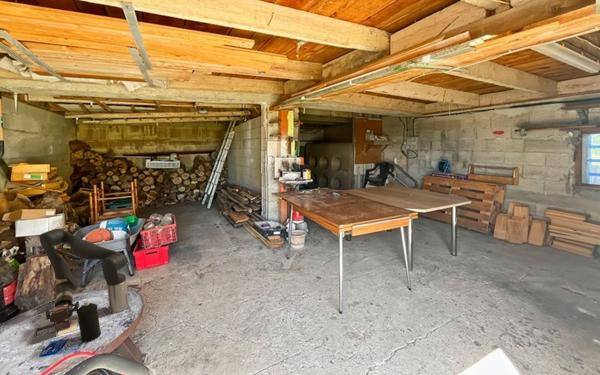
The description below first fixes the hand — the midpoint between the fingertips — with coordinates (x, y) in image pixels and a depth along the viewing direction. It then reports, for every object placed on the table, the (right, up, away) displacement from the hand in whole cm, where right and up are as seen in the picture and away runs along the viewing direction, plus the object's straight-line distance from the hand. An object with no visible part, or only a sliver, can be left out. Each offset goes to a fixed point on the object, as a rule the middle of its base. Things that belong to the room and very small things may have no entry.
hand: (61, 318), depth 137 cm
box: (-2, -7, +3) cm, 8 cm away
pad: (0, -7, +5) cm, 8 cm away
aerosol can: (+16, -9, -1) cm, 18 cm away
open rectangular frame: (-7, -8, 0) cm, 10 cm away
